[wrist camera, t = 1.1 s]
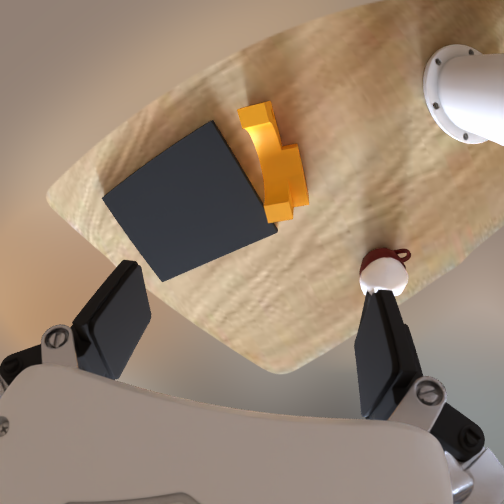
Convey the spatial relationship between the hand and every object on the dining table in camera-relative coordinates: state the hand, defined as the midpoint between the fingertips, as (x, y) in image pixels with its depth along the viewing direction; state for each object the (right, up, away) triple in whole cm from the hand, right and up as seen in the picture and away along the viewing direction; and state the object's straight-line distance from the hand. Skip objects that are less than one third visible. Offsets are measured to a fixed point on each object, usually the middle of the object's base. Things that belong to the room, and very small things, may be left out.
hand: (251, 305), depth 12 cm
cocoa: (+17, +1, +27) cm, 32 cm away
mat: (-9, +8, +27) cm, 30 cm away
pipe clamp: (+3, +14, +22) cm, 26 cm away
